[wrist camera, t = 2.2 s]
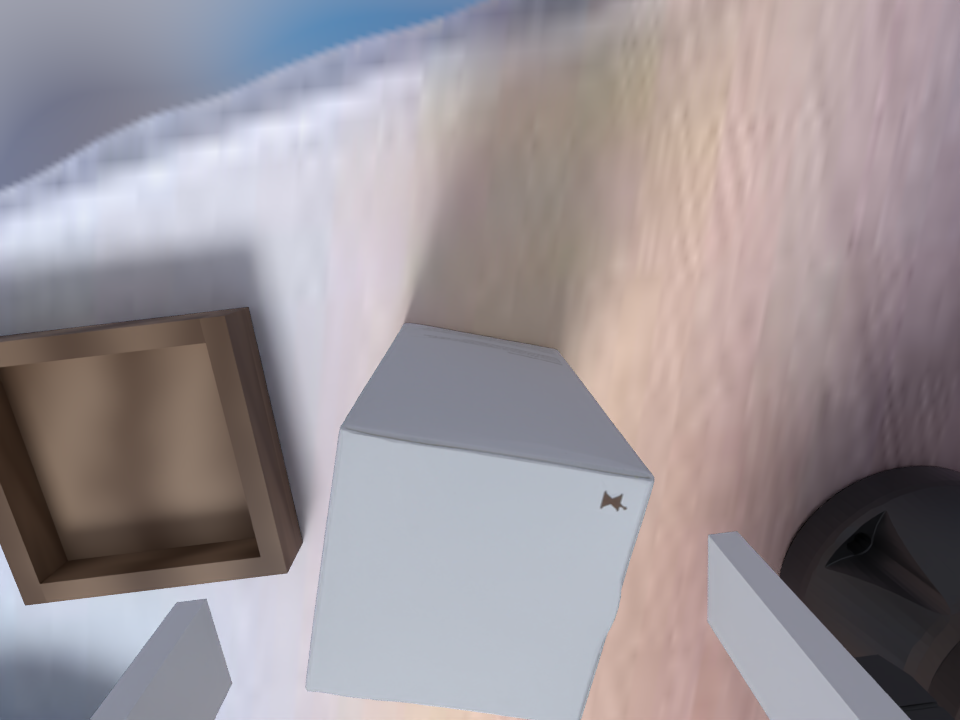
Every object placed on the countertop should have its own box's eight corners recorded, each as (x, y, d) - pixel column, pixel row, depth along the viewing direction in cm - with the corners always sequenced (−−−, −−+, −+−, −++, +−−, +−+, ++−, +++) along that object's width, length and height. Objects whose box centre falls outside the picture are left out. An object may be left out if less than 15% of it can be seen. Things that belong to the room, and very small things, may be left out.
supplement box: (400, 317, 27) (333, 415, 13) (560, 347, 28) (669, 473, 13) (376, 468, 29) (293, 699, 15) (525, 492, 30) (585, 735, 16)
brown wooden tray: (248, 307, 27) (224, 315, 24) (302, 542, 30) (287, 573, 28) (-23, 339, 27) (-78, 351, 24) (64, 571, 30) (25, 605, 27)
